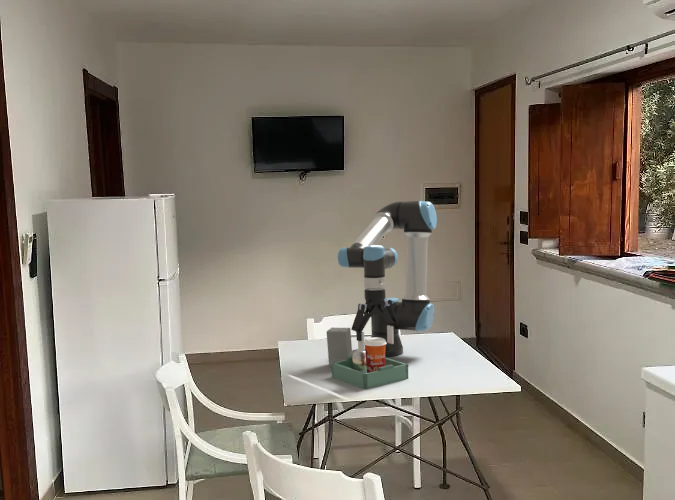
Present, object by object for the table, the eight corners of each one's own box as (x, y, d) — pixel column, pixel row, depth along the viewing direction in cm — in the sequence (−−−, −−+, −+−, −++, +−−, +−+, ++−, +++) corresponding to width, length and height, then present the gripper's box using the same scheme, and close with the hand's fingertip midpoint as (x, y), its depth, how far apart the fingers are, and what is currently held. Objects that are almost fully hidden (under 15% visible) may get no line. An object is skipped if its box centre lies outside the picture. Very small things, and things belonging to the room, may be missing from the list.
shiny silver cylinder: (349, 374, 246) (348, 350, 246) (362, 371, 250) (361, 348, 249) (359, 377, 242) (358, 353, 241) (372, 374, 245) (371, 350, 244)
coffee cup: (366, 383, 233) (365, 342, 232) (363, 377, 242) (362, 337, 240) (389, 382, 234) (388, 341, 233) (385, 376, 242) (384, 336, 241)
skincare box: (353, 366, 260) (352, 327, 259) (347, 371, 253) (346, 330, 252) (333, 365, 263) (332, 326, 261) (327, 369, 256) (326, 329, 255)
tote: (332, 378, 244) (331, 360, 243) (373, 369, 255) (373, 351, 255) (365, 391, 227) (365, 371, 227) (408, 380, 239) (408, 361, 238)
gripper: (353, 294, 225) (355, 354, 227) (407, 285, 239) (408, 342, 241) (340, 291, 231) (342, 350, 233) (394, 283, 245) (395, 339, 247)
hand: (376, 346), depth 237 cm, fingers open, 13 cm apart
